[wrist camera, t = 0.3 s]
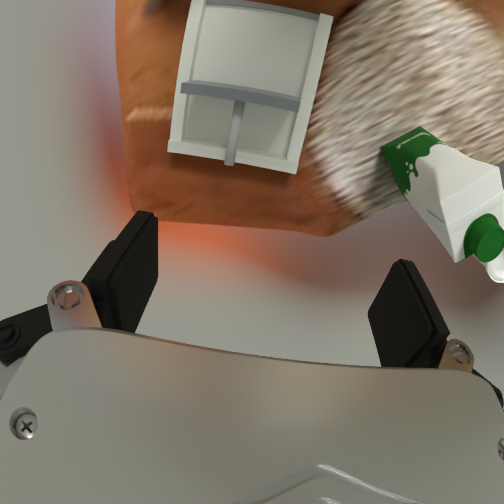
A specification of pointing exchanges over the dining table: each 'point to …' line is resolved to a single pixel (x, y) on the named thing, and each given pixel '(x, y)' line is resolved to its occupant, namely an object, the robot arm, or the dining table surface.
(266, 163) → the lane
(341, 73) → the dining table surface
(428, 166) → the milk carton
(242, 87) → the pusher
